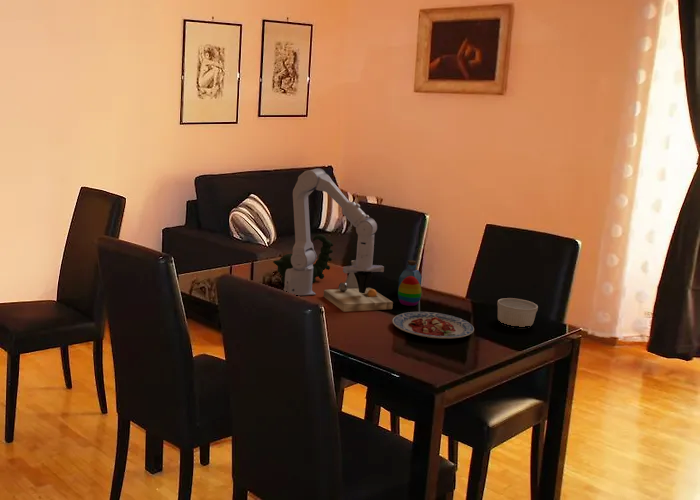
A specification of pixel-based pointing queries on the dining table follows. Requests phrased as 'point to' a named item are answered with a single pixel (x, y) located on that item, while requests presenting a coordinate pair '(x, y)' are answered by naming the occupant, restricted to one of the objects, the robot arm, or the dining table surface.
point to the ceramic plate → (433, 325)
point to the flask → (352, 279)
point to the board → (357, 300)
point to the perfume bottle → (410, 272)
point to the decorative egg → (409, 291)
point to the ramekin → (516, 312)
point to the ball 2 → (372, 293)
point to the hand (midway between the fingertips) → (361, 292)
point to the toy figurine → (317, 267)
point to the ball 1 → (343, 286)
